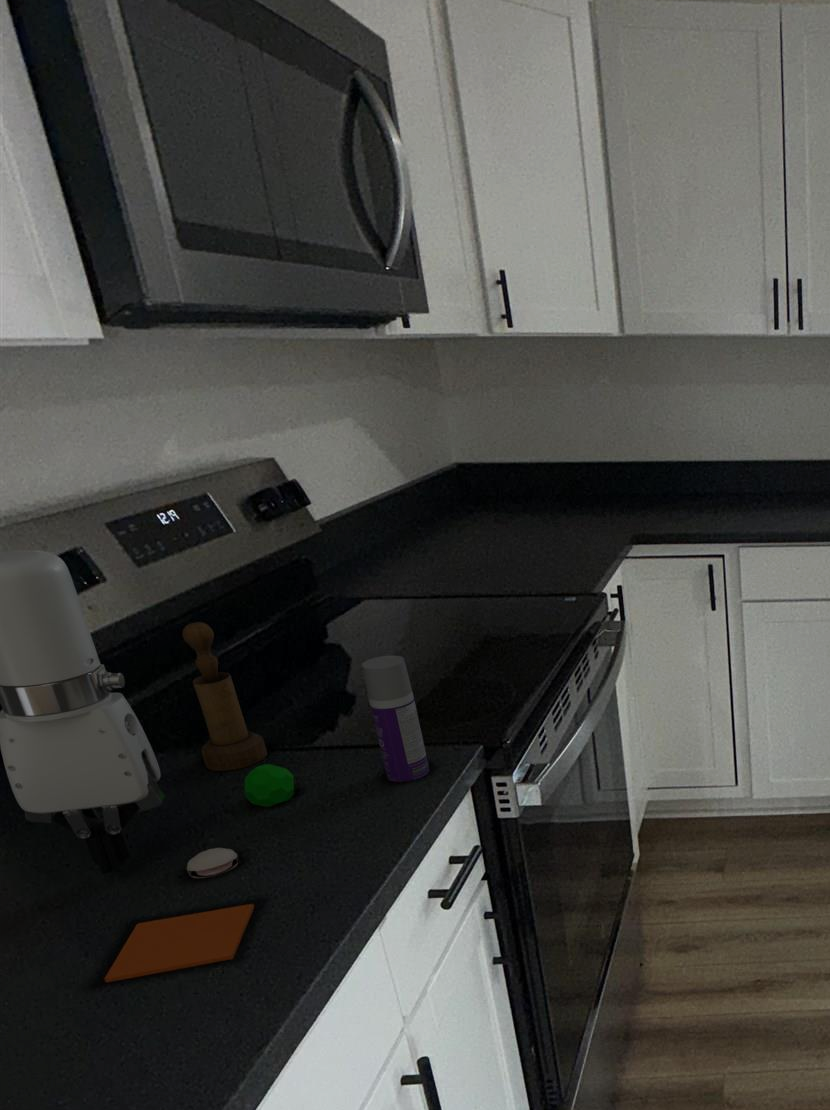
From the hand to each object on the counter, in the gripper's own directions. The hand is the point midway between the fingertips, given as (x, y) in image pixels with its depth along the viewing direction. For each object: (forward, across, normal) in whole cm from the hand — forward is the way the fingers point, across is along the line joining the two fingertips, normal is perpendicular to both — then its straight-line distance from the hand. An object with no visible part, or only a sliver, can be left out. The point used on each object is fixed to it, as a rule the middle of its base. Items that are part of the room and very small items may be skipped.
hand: (118, 864), depth 90 cm
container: (+2, -25, -15) cm, 29 cm away
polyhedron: (+2, -11, -13) cm, 17 cm away
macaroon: (+2, -8, 0) cm, 8 cm away
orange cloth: (+2, -9, +14) cm, 17 cm away
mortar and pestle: (+2, -4, -28) cm, 29 cm away
